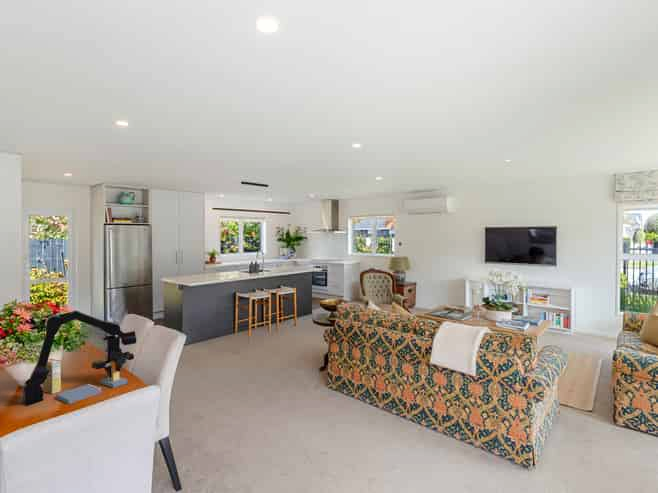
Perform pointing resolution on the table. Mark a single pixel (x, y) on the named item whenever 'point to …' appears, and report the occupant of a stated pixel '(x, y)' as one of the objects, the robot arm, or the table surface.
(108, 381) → the stub
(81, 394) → the blue-grey flat slab
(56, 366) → the candy box
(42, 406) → the table surface
